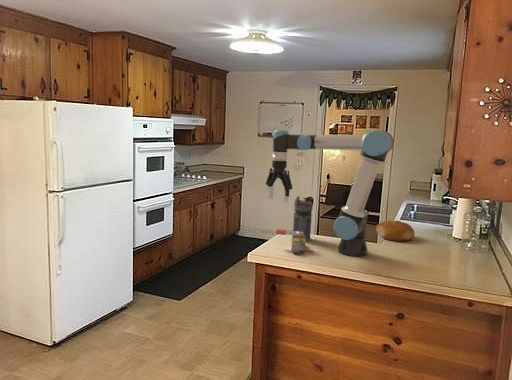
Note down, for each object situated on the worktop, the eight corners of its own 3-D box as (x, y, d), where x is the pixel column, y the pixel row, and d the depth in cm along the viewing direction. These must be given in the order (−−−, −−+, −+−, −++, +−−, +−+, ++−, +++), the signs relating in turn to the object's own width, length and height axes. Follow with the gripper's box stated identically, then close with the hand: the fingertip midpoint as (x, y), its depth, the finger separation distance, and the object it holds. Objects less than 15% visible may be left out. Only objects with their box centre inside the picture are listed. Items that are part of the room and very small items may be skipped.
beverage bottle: (316, 239, 241) (319, 196, 238) (300, 242, 233) (303, 198, 229) (303, 235, 249) (306, 194, 245) (287, 238, 240) (290, 195, 237)
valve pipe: (292, 245, 228) (293, 231, 227) (305, 246, 227) (306, 232, 226) (290, 255, 210) (291, 239, 209) (304, 256, 209) (305, 240, 208)
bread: (368, 237, 253) (369, 220, 251) (384, 231, 271) (385, 216, 269) (405, 244, 238) (406, 227, 237) (419, 238, 256) (421, 222, 255)
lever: (303, 234, 219) (303, 230, 219) (302, 236, 215) (303, 232, 215) (276, 232, 221) (277, 228, 221) (276, 234, 217) (276, 230, 217)
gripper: (260, 158, 224) (258, 197, 227) (288, 162, 204) (286, 204, 207) (271, 158, 229) (270, 196, 231) (300, 161, 208) (298, 203, 211)
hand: (278, 200), depth 219 cm, fingers open, 13 cm apart
